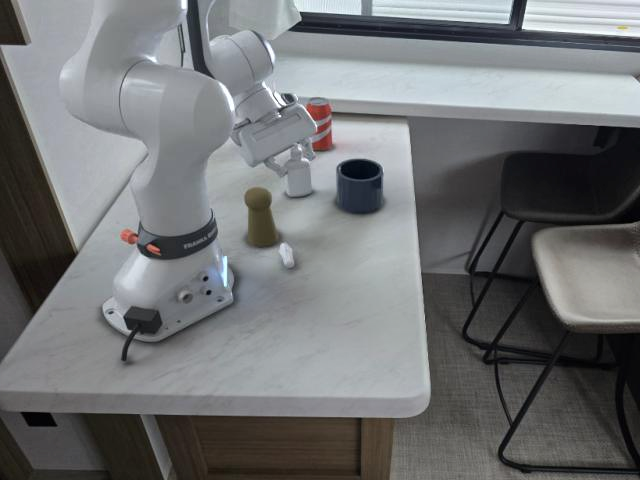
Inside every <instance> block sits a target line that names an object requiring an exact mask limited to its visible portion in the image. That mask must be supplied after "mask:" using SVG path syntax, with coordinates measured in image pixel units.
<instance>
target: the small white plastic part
mask: <svg viewBox="0 0 640 480" xmlns="http://www.w3.org/2000/svg"><path fill="white" fill-rule="evenodd" d="M278 253H279V255H280V257H281V259H282V261H283V265H284V267H285V268H286V269H291V268H293V267H294V266H295V260H294V256H293V247H290V245H289V244H288V243H287V242H282V243H280V244H279V249H278Z"/></svg>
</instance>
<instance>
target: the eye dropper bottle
mask: <svg viewBox="0 0 640 480" xmlns="http://www.w3.org/2000/svg"><path fill="white" fill-rule="evenodd" d="M283 166H284V167H285V168H286V170H287V171H288V174H287V175H285V176H284V179H285V180H284V181H285V189H286V194H287V195H288V196H289V197H290V198H299V197H303V196H307V195H309V194H311V193H312V191H313V186H312V185H313V183H312V168H311V161H310V162H309V160H308V159H307V158H306V157H303V149H302V147H299V144H297V143H294V147H292V148H290V158H289V159H288V160H286V161H285V162H284V165H283Z"/></svg>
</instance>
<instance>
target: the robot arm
mask: <svg viewBox="0 0 640 480" xmlns="http://www.w3.org/2000/svg"><path fill="white" fill-rule="evenodd" d="M215 2H216V0H93V9H92V15H91V20H90V23H89V28H88V30H87V34H86V36H85V39H84V41H83V43H82V45H81V47H80V48H79V50H78V51H77V52H76V53H75V54H73V56H72V57H70V58H69V59H68V60H67V61H65V63H64V65H63V66H62V68H61V71H60V74H59V79H58V91H59V97H60V99H61V102H62V104H63V106H64V108H65V109H66V111H67V113H69V114H70V115H71V116H72V117H74V118H75V119H77V120H79V122H80V121H81V122H82V123H84V124H85V125H88V126H90V127H92V128H95V129H96V130H99V131H101V132H103V133H107V134H111V135H116V136H120V137H125V138H129V139H132V140H137V141H140V142H141V143H142V144H143V145H144V146H145V148H146V150H147V155H148V158H147V159H145V160H144V161H142V162H141V163H140V164H138V165H137V167H135V169H134V171H133V172H132V175H131V176H130V181H129V187H130V191H131V194H132V197H133V201H134V204H135V207H136V210H137V215H138V217H139V221H138V228H137V233H136V232H133V231H132V230H131V229H128V228H126V229H123V230H122V231H121V232H120V237H119V238H120V239H121V241H123V242H124V243H127V244H128V245H136V246H135V248H134V249H133V251H131V254H130V255H128V257H127V259H126V260H125V262H124V264H123V265H122V266H121V268H120V269H119V270H118V272H117V273H116V274H115V275H114V277H113V278H112V284H111V285H112V287H111V288H112V296H111V297H110V298H109V299H107V300H106V301H105V302H104V303H103V304H102V313H103V316H104V319H105V320H106V321H107V322H108V324H109V325H110V326H112V327H113V328H114V329H115V330H117V331H118V332H119V333H122V335H124V336H126V337H127V338H126V340H125V342H124V344H123V347H122V351H121V358H120V361H123V362H126V361H127V359H128V352H129V348H130V346H131V344H132V341H133V340H136V341H140V342H147V343H148V342H149V343H157V342H160V341H163V340H165V339H166V338H168V337H170V336H172V335H174V334H176V333H177V332H178V333H179V332H180V331H181V330H183V329H185V328H187V327H189V326H191V325H193V324H195V323H197V322H199V321H201V320H203V319H205V318H206V317H209V316H210V315H212V314H215V313H216V312H218V311H220V310H222V309H224V308H227V307H228V306H230V305H232V304H233V303H234V295H233V292H232V290H233V287H234V283H235V275H234V273H233V271H232V269H231V268H230V266H229V264H228V258H227V255H225V256H224V253H223V250H222V247H221V244H220V240H219V238H218V234H219V229H218V224H217V222H218V221H217V218H216V215H215V212H214V210H213V209H212V207H211V202H210V196H209V190H208V183H207V167H208V163H209V160H210V158H211V156H212V155H213V154H214V153H215V152H216V151H217V150H219V149H221V148H222V147H223V146H225V144H226V143H227V142H228V141H229V140H230V139H231V140H232V141H233V143H234V144H235V146H236V148H237V150H238V152H239V154H240V156H241V158H242V159H243V161H244V163H245V164H246V165H247V166H249V168H253V169H254V168H256V167H258V166H260V165H262V164H264V166H265V167H266V168H268V169H270V170H271V171H273V172H274V173H275V174H276V175H277V176H278V178H279V179H282V178H285V175H287V174H288V171H287V170H286V168H285V167H284V165H283V166H281V165H279V164H278V163H276V162H275V161H276V159H275V157H277V156H279V155H281V154H283V153H284V152H286V151H289V150H291V148H293V147H294V143H297V144H298V145H300V146H301V148H304V149H305V155H304V158H306V159H308V160H309V162H310V163H311V162H312V161H314V160H315V159H316V158H317V154H316V153H315V152H314V151H315V150H314V149H313V148H312V141H311V140H310V138H311V137H312V136H313V135H314V134H315V133H316V132H317V126H316V124H315V122H314V120H313V119H312V118H311V116H310V115H309V113H308V112H307V111H306V108H305V107H304V106H303V105H302V104H300V103H298V101H299V99H298V96H297V95H296V93H294V92H277V91H275V92H273V90H271V88H270V87H269V86H268V85H267V84H266V83H265V80H267V79H268V78H269V77H270V76H271V75H272V74H273V72H274V71H275V66H276V55H275V52H274V49H273V48H272V46H271V44H270V43H269V42H268V40H267V38H266V37H265V36H263V35H262V34H260V32H258V31H255V30H253V29H248V28H247V29H245V30H241V31H238V32H236V33H234V34H232V35H228V34H221V35H218V36H216V37H213V38H212V39H211V40H210V32H209V31H210V30H209V24H208V21H209V20H208V18H209V14H210V10H211V8H212V7H213V5H214V3H215ZM174 29H177V35H178V41H179V48H180V66H179V65H178V66H177V65H173V64H168V63H162V62H158V52H159V48H160V44H161V42H162V39H163V37H164V36H165V35H166V33H168V32H170V31H172V30H174ZM236 114H237V115H236ZM236 116H238V117H239V118H240V121H239V122H237V123H236V119H237V118H236Z"/></svg>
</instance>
